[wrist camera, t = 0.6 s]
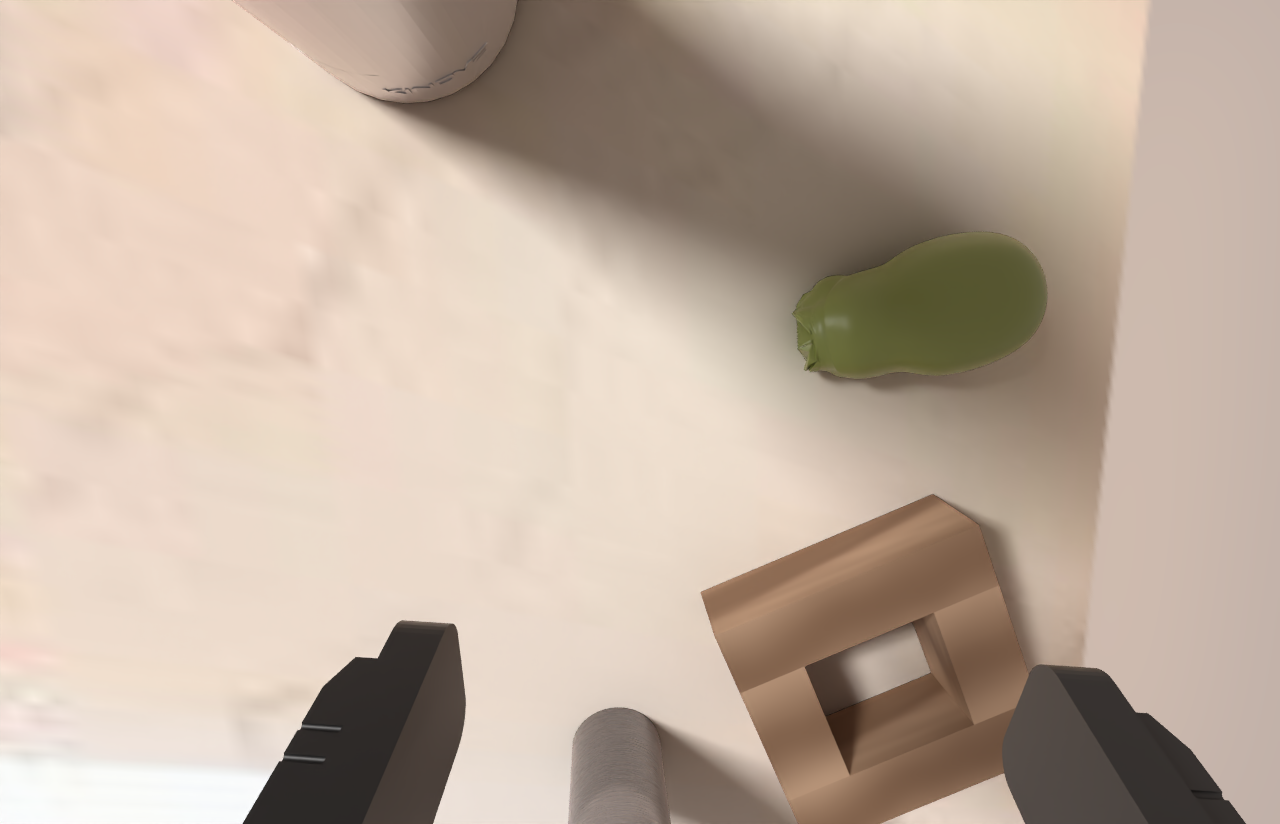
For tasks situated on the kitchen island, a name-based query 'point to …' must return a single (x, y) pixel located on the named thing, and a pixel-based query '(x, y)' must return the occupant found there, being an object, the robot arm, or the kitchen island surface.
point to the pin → (617, 771)
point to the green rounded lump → (925, 309)
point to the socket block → (851, 614)
